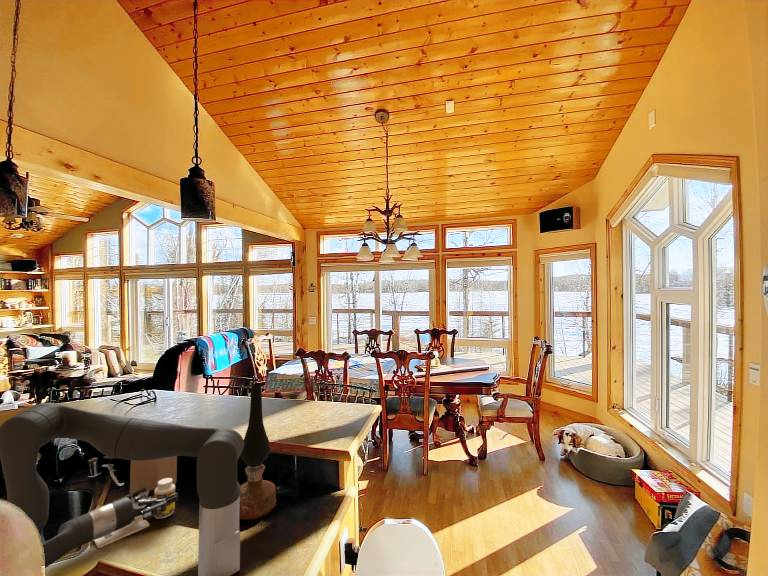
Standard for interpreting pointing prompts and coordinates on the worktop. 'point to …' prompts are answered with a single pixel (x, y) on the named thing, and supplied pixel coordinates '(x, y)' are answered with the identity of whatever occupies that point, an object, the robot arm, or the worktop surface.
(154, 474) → the wooden block
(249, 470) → the oil lamp
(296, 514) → the worktop surface
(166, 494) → the supplement bottle
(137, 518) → the letter board
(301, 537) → the worktop surface
